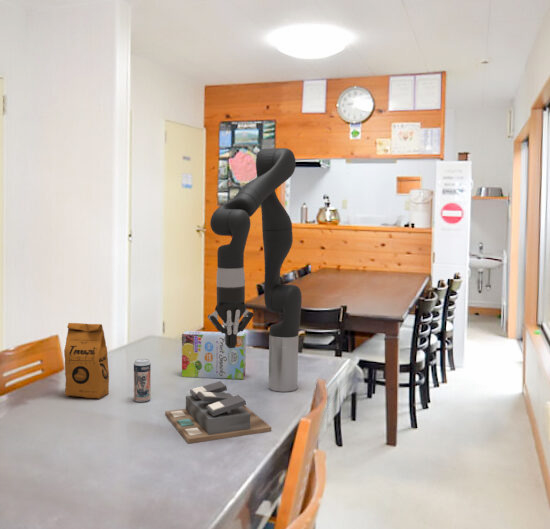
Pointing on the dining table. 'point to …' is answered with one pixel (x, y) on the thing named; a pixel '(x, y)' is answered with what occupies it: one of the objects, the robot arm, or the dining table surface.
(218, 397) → the block
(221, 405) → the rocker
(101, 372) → the coffee package
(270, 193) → the robot arm
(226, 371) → the snack box
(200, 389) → the rocker
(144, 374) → the beer can
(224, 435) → the switch panel
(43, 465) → the dining table surface
